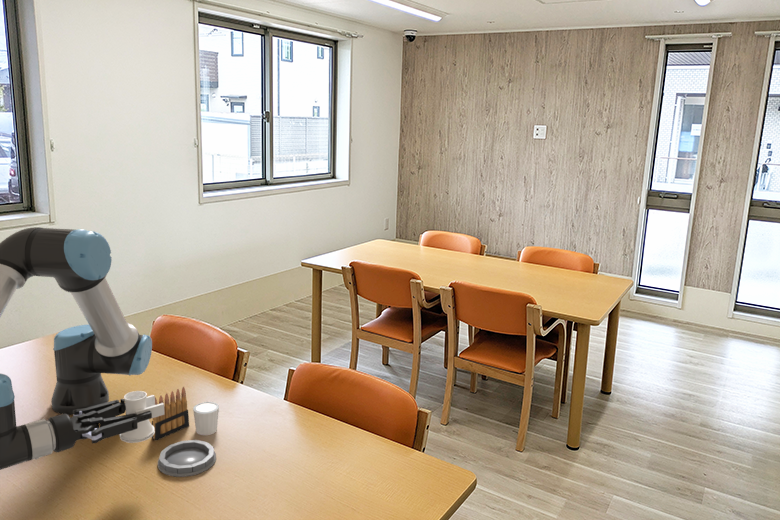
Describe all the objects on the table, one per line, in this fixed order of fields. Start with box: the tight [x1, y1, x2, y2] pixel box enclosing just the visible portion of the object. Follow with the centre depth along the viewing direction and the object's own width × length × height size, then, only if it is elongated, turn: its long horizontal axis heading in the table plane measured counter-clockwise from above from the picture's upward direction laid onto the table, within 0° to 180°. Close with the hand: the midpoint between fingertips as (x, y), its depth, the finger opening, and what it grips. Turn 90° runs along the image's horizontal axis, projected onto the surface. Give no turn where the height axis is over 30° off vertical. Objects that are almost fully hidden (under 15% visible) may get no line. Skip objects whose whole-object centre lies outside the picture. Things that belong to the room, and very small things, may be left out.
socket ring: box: [157, 439, 217, 478], centre depth 152 cm, size 14×14×2 cm
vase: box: [119, 390, 155, 444], centre depth 139 cm, size 8×8×10 cm
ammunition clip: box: [151, 386, 190, 441], centre depth 164 cm, size 11×2×12 cm, turn 145°
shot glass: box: [192, 401, 220, 436], centre depth 166 cm, size 7×7×7 cm
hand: (158, 404), depth 143 cm, fingers closed on vase, 5 cm apart
